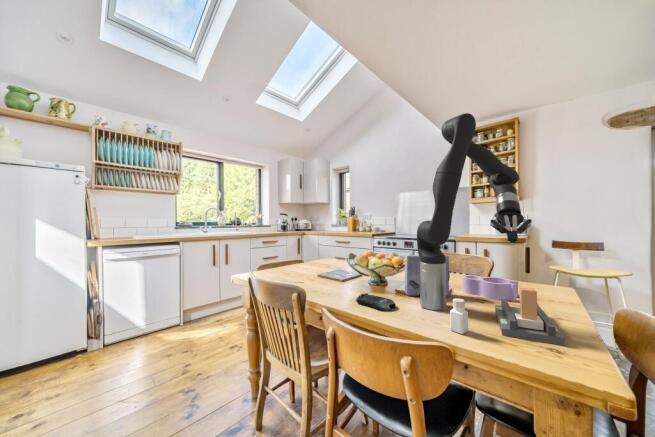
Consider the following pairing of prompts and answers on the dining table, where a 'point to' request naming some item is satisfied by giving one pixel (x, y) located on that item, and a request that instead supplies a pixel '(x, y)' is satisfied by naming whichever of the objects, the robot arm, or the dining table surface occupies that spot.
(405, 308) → the dining table surface
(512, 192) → the robot arm
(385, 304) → the electronic device
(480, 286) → the lavender double ring holder
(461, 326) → the salt shaker
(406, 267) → the cake pan box
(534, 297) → the switch lever
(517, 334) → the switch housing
